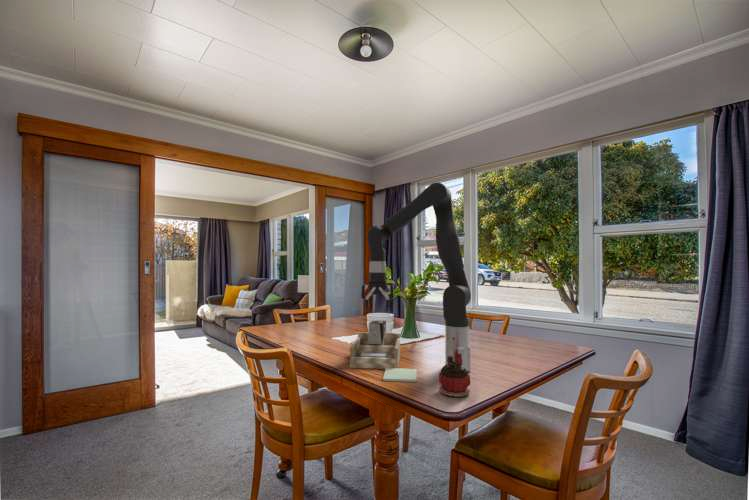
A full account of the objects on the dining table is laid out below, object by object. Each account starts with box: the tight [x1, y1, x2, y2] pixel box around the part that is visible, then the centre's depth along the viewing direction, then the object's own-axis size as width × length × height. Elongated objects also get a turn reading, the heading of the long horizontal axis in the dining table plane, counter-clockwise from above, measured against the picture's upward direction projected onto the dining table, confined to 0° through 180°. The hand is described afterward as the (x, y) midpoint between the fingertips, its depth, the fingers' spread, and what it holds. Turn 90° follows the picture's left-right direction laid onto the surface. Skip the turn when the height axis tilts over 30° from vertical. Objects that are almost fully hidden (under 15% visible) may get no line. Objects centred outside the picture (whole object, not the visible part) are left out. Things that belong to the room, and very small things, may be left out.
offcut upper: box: [361, 353, 386, 358], centre depth 147 cm, size 10×4×2 cm, turn 81°
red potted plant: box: [438, 337, 471, 397], centre depth 115 cm, size 11×9×18 cm
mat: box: [382, 367, 418, 383], centre depth 133 cm, size 12×13×1 cm
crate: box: [349, 331, 401, 370], centre depth 152 cm, size 19×21×10 cm
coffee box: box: [368, 320, 387, 346], centre depth 157 cm, size 9×6×16 cm
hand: (377, 308), depth 157 cm, fingers open, 8 cm apart
